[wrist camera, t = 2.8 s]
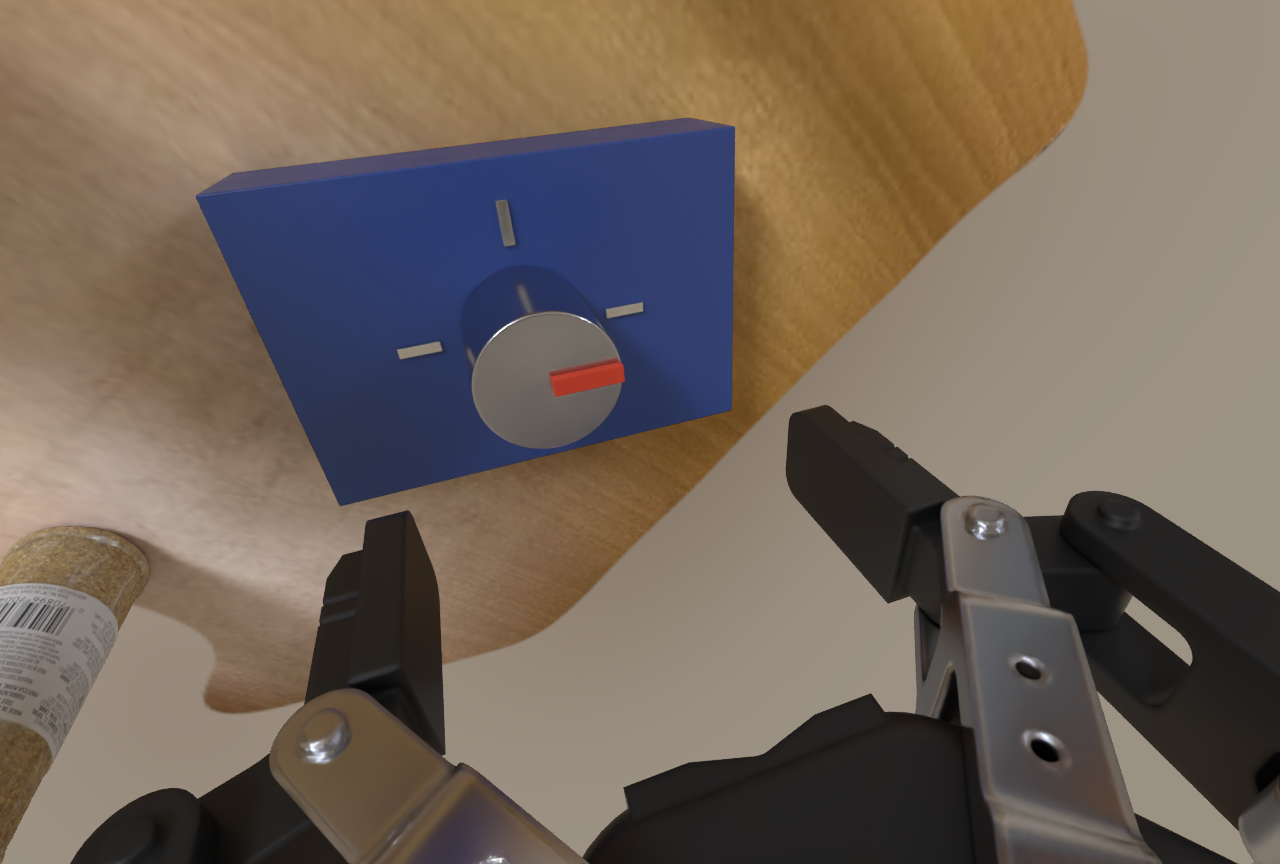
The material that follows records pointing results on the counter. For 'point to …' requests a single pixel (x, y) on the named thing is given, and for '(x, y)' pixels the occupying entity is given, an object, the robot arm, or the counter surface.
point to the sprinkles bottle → (55, 645)
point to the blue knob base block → (459, 262)
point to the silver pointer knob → (538, 359)
